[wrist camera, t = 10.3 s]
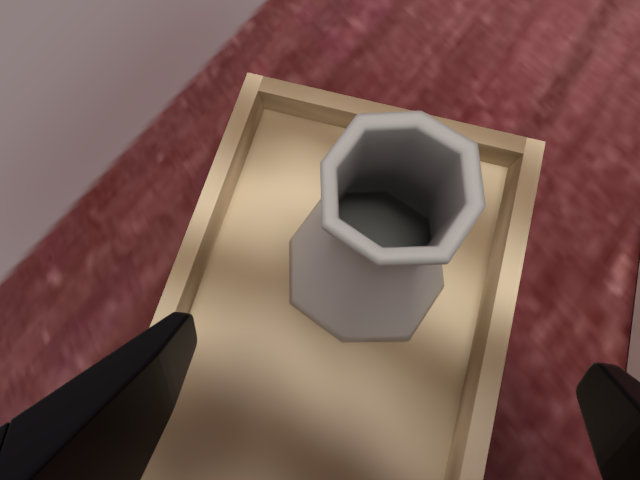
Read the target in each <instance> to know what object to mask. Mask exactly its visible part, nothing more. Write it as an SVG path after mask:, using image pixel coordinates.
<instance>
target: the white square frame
mask: <svg viewBox="0 0 640 480" xmlns="http://www.w3.org/2000/svg"><path fill="white" fill-rule="evenodd" d="M627 373H628V374H630V375H631V376H633V377H634V378H635V379H637V380H638V381H639V382H640V262H639V270H638V279H637V287H636V296H635V304H634V313H633V321H632V329H631V338H630V346H629V355H628V363H627Z"/></svg>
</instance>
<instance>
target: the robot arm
mask: <svg viewBox="0 0 640 480" xmlns="http://www.w3.org/2000/svg"><path fill="white" fill-rule="evenodd" d="M196 345H197V334H196V328H195V323H194V318H193V316H192V314H190V313H185V312H173V313H171V314H169V315H168V316H166V317H165V318H163V319H162V320H160V321H159V322H157V323H156V324H154V325H153V326H151V327H150V328H148V329H147V330H145V331H144V332H142V333H141V334H139V335H138V336H136V337H135V338H133V339H132V340H130V341H129V342H127V343H126V344H124V345H123V346H121V347H120V348H118V349H117V350H115V351H114V352H112V353H111V354H109V355H108V356H106V357H105V358H103V359H102V360H100V361H99V362H97V363H96V364H94V365H93V366H91V367H90V368H88V369H87V370H85V371H84V372H82V373H81V374H79V375H78V376H76V377H75V378H73V379H72V380H70V381H69V382H67V383H66V384H64V385H63V386H61V387H60V388H58V389H57V390H55V391H54V392H52V393H51V394H49V395H48V396H46V397H45V398H43V399H42V400H40V401H39V402H37V403H35V404H34V405H32V406H31V407H29V408H28V409H26V410H25V411H23V412H22V413H20V414H19V415H17V416H16V417H14V418H13V419H12V420H11V422H10V423H5V424H4V425H2V426H1V427H0V480H141V478H142V476H143V474H144V472H145V469H146V467H147V465H148V463H149V461H150V459H151V457H152V455H153V453H154V451H155V448H156V446H157V444H158V442H159V440H160V438H161V436H162V434H163V432H164V430H165V427H166V425H167V423H168V421H169V419H170V417H171V415H172V412H173V410H174V408H175V405H176V402H177V400H178V397H179V394H180V391H181V389H182V386H183V383H184V380H185V377H186V374H187V372H188V369H189V366H190V363H191V360H192V357H193V355H194V352H195V349H196ZM576 394H577V399H578V402H579V406H580V409H581V412H582V416H583V419H584V422H585V426H586V429H587V432H588V436H589V439H590V442H591V446H592V449H593V452H594V456H595V459H596V462H597V465H598V468H599V471H600V473H601V476H602V478H603V480H640V382H639V381H638V380H637V379H635V378H634V377H633V376H631V375H630V374H628V373H627V372H626V371H624V370H623V369H622V368H620V367H619V366H617V365H614V364H606V363H598V362H597V363H594V364H592V365H591V366H590V367H589V369H588V370H587V372H586V373H585V375H584V376H583V377H582V379H581V380H580V382H579V383H578V385H577V389H576Z"/></svg>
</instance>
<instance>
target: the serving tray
mask: <svg viewBox="0 0 640 480" xmlns="http://www.w3.org/2000/svg"><path fill="white" fill-rule="evenodd" d="M403 111H411V110H407V109H402V108H398V107H394V106H389V105H385V104H381V103H376V102H372V101H368V100H364V99H359V98H355V97H351V96H346V95H342V94H338V93H333V92H329V91H325V90H321V89H316V88H312V87H308V86H303V85H299V84H295V83H290V82H286V81H282V80H278V79H273V78H269V77H265V76H260V75H256V74H252V73H247V76H246V78H245V81H244V84H243V86H242V89H241V91H240V94H239V96H238V99H237V102H236V104H235V107H234V109H233V112H232V115H231V117H230V120H229V122H228V125H227V128H226V130H225V133H224V135H223V138H222V141H221V143H220V146H219V148H218V151H217V154H216V156H215V159H214V161H213V164H212V167H211V169H210V172H209V174H208V177H207V180H206V182H205V185H204V187H203V190H202V193H201V195H200V198H199V200H198V203H197V206H196V208H195V211H194V213H193V216H192V219H191V221H190V224H189V226H188V229H187V232H186V234H185V237H184V239H183V242H182V245H181V247H180V250H179V252H178V255H177V258H176V260H175V263H174V265H173V268H172V271H171V273H170V276H169V278H168V281H167V284H166V286H165V289H164V291H163V294H162V297H161V299H160V302H159V304H158V307H157V310H156V312H155V315H154V317H153V320H152V323H151V325H150V327H151V326H153V325H154V324H156V323H157V322H159V321H160V320H162V319H163V318H165V317H166V316H168V315H169V314H171V313H173V312H185V313H190V314H192V316H193V318H194V323H195V328H196V334H197V345H196V349H195V352H194V355H193V357H192V360H191V363H190V366H189V369H188V372H187V374H186V377H185V380H184V383H183V386H182V389H181V391H180V394H179V397H178V400H177V402H176V405H175V408H174V410H173V412H172V415H171V417H170V419H169V421H168V423H167V425H166V427H165V430H164V432H163V434H162V436H161V438H160V440H159V442H158V444H157V446H156V448H155V451H154V453H153V455H152V457H151V459H150V461H149V463H148V465H147V467H146V469H145V472H144V474H143V476H142V478H141V480H483V477H484V472H485V466H486V461H487V456H488V450H489V445H490V439H491V434H492V429H493V423H494V418H495V412H496V407H497V402H498V396H499V391H500V385H501V380H502V375H503V369H504V364H505V358H506V353H507V348H508V342H509V337H510V331H511V326H512V321H513V315H514V310H515V304H516V299H517V294H518V288H519V283H520V277H521V272H522V267H523V261H524V256H525V250H526V245H527V240H528V234H529V229H530V223H531V218H532V212H533V207H534V202H535V196H536V191H537V185H538V180H539V175H540V169H541V164H542V158H543V153H544V148H545V142H544V141H540V140H536V139H531V138H527V137H523V136H518V135H514V134H510V133H505V132H501V131H497V130H493V129H488V128H484V127H480V126H475V125H471V124H467V123H462V122H458V121H454V120H450V119H445V118H441V117H437V116H432V115H430V116H431V117H433V118H435V119H437V120H438V121H440V122H442V123H443V124H445V125H447V126H449V127H450V128H452V129H454V130H455V131H457V132H459V133H461V134H462V135H464V136H466V137H467V138H469V139H471V140H473V141H474V142H476V143H478V148H479V156H480V164H481V172H482V180H483V187H484V195H485V203H486V207H485V209H484V210H483V212H482V213H481V215H480V216H479V218H478V219H477V221H476V222H475V224H474V225H473V227H472V229H471V230H470V232H469V233H468V235H467V236H466V238H465V239H464V241H463V242H462V244H461V245H460V247H459V248H458V250H457V251H456V253H455V255H454V256H453V258H452V259H451V261H450V262H449V263H448V264H446V265H442V268H443V278H444V288H443V290H442V291H441V293H440V294H439V296H438V297H437V299H436V300H435V302H434V303H433V305H432V306H431V308H430V310H429V311H428V313H427V314H426V316H425V317H424V319H423V320H422V322H421V323H420V325H419V327H418V328H417V330H416V331H415V333H414V334H413V336H412V337H411V339H410V340H409V341H399V342H344V343H342V342H341V341H339V340H338V339H337V338H335V337H334V336H333V335H331V334H330V333H329V332H327V331H326V330H324V329H323V328H322V327H320V326H319V325H318V324H316V323H315V322H314V321H312V320H311V319H310V318H308V317H307V316H306V315H304V314H303V313H302V312H300V311H299V310H297V309H296V308H295V307H293V306H292V305H291V304H289V241H290V239H291V238H292V237H293V235H294V234H295V233H296V231H297V230H298V229H299V227H300V226H301V225H302V223H303V222H304V221H305V219H306V218H307V216H308V215H309V214H310V212H311V211H312V210H313V208H314V207H315V206H316V204H317V203H318V202H319V200H320V199H321V183H320V162H321V161H322V159H323V158H324V157H325V155H326V154H327V153H328V151H329V150H330V149H331V147H332V146H333V145H334V143H335V142H336V141H337V140H338V138H339V137H340V136H341V134H342V133H343V132H344V130H345V129H346V128H347V126H348V125H349V124H350V122H351V121H352V120H353V118H354V117H355V116H356V115H357V114H361V113H382V112H403Z"/></svg>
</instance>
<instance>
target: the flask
mask: <svg viewBox="0 0 640 480" xmlns="http://www.w3.org/2000/svg"><path fill="white" fill-rule="evenodd" d="M320 183H321V199H320V200H319V202H318V203H317V204H316V206H315V207H314V208H313V210H312V211H311V212H310V214H309V215H308V216H307V218H306V219H305V221H304V222H303V223H302V225H301V226H300V227H299V229H298V230H297V231H296V233H295V234H294V235H293V237H292V238H291V239H290V241H289V304H291V305H292V306H293V307H295V308H296V309H297V310H299V311H300V312H302V313H303V314H304V315H306V316H307V317H308V318H310V319H311V320H312V321H314V322H315V323H316V324H318V325H319V326H320V327H322V328H323V329H324V330H326V331H327V332H329V333H330V334H331V335H333V336H334V337H335V338H337V339H338V340H339V341H341V342H342V343H344V342H399V341H409V340H410V339H411V337H412V336H413V334H414V333H415V331H416V330H417V328H418V327H419V325H420V323H421V322H422V320H423V319H424V317H425V316H426V314H427V313H428V311H429V310H430V308H431V306H432V305H433V303H434V302H435V300H436V299H437V297H438V296H439V294H440V293H441V291H442V290H443V288H444V278H443V268H442V265H446V264H448V263H449V262H450V261H451V259H452V258H453V256H454V255H455V253H456V251H457V250H458V248H459V247H460V245H461V244H462V242H463V241H464V239H465V238H466V236H467V235H468V233H469V232H470V230H471V229H472V227H473V225H474V224H475V222H476V221H477V219H478V218H479V216H480V215H481V213H482V212H483V210H484V209H485V207H486V203H485V195H484V187H483V180H482V172H481V164H480V156H479V148H478V143H476V142H474V141H473V140H471V139H469V138H467V137H466V136H464V135H462V134H461V133H459V132H457V131H455V130H454V129H452V128H450V127H449V126H447V125H445V124H443V123H442V122H440V121H438V120H437V119H435V118H433V117H431V116H430V115H428V114H426V113H424V112H423V111H403V112H382V113H361V114H357V115H356V116H355V117H354V118H353V120H352V121H351V122H350V124H349V125H348V126H347V128H346V129H345V130H344V132H343V133H342V134H341V136H340V137H339V138H338V140H337V141H336V142H335V143H334V145H333V146H332V147H331V149H330V150H329V151H328V153H327V154H326V155H325V157H324V158H323V159H322V161H321V162H320Z"/></svg>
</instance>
